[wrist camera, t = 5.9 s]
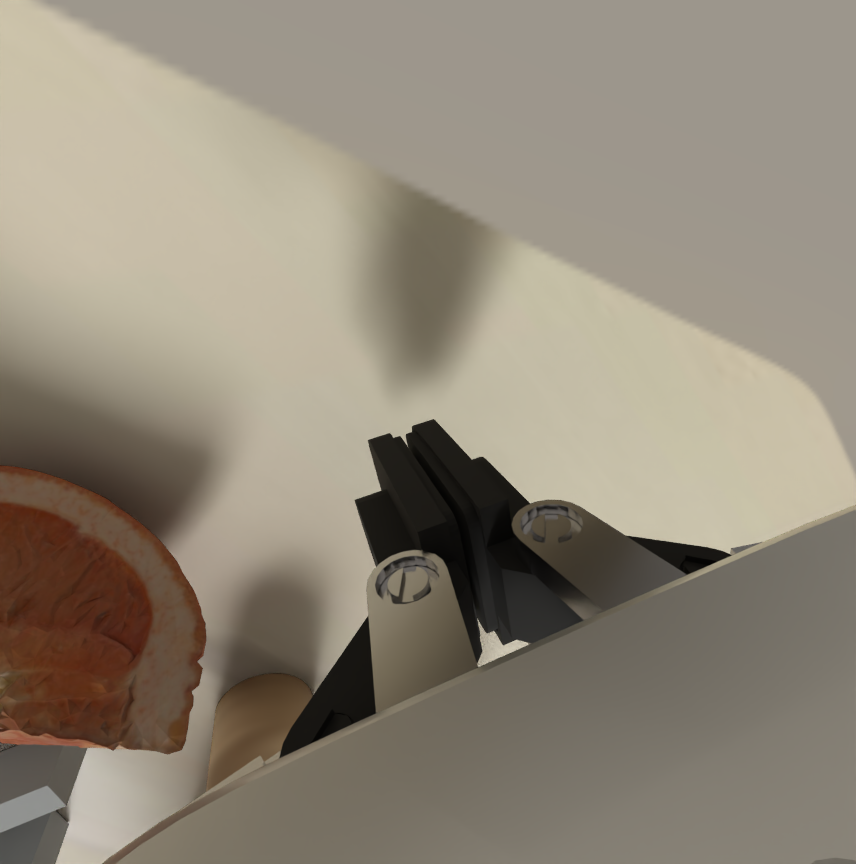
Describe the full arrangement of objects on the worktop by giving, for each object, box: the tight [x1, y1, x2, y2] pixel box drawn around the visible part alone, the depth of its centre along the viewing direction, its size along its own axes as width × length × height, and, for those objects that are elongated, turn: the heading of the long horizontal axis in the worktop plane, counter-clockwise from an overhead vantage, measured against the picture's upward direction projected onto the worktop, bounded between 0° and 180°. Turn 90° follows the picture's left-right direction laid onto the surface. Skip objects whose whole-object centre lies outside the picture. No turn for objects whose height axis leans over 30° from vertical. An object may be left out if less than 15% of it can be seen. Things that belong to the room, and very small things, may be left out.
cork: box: [206, 673, 312, 792], centre depth 15 cm, size 3×3×4 cm
